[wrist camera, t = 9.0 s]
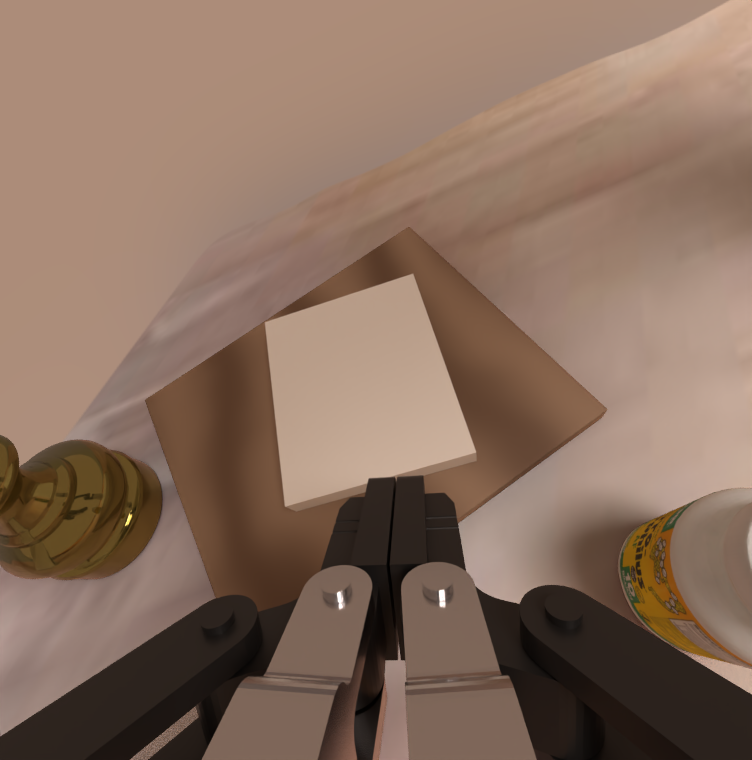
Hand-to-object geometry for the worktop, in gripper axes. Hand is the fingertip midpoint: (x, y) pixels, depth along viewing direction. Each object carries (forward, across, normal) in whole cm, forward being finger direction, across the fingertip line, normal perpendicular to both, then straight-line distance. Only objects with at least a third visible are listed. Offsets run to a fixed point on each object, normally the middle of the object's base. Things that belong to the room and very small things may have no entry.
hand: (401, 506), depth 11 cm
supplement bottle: (+7, +12, -9) cm, 16 cm away
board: (+14, -4, -2) cm, 15 cm away
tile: (+9, -2, -4) cm, 10 cm away
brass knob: (+12, -19, -7) cm, 24 cm away
